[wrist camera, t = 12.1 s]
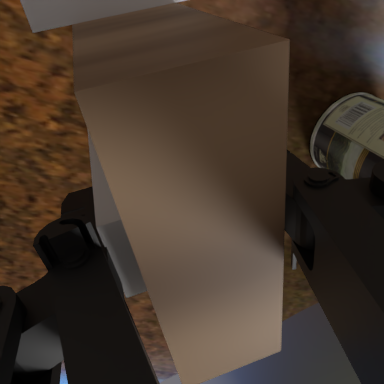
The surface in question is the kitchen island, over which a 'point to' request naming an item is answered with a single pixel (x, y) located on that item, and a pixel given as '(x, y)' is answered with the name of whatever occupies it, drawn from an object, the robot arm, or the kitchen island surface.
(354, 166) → the coffee can
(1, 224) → the kitchen island surface
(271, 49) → the bookend
